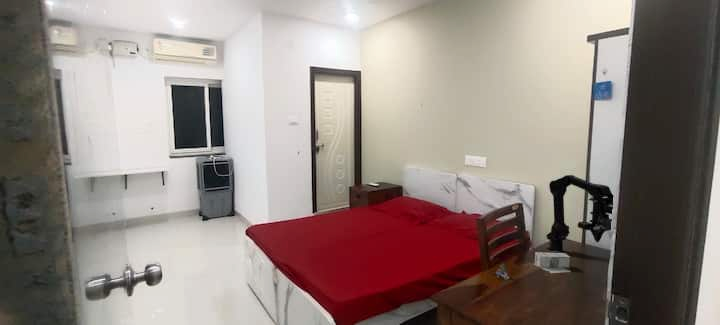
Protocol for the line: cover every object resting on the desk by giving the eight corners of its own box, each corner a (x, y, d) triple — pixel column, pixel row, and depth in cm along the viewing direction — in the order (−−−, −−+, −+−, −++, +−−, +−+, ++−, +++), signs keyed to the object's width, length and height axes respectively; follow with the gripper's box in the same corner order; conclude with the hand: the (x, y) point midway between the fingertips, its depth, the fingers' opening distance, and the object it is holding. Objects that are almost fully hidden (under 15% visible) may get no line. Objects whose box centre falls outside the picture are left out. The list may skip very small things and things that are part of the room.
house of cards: (482, 277, 163) (482, 261, 162) (497, 274, 166) (498, 258, 165) (495, 285, 155) (496, 268, 154) (511, 282, 157) (512, 266, 157)
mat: (533, 264, 177) (533, 263, 177) (553, 262, 179) (553, 261, 179) (550, 274, 166) (550, 273, 165) (571, 272, 168) (571, 271, 167)
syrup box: (565, 252, 176) (534, 251, 177) (570, 257, 170) (539, 256, 172) (564, 263, 176) (534, 262, 178) (570, 268, 171) (538, 267, 172)
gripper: (596, 216, 163) (594, 248, 165) (630, 214, 166) (628, 246, 168) (577, 210, 174) (575, 241, 176) (610, 208, 177) (608, 238, 179)
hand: (597, 242), depth 174 cm, fingers closed
